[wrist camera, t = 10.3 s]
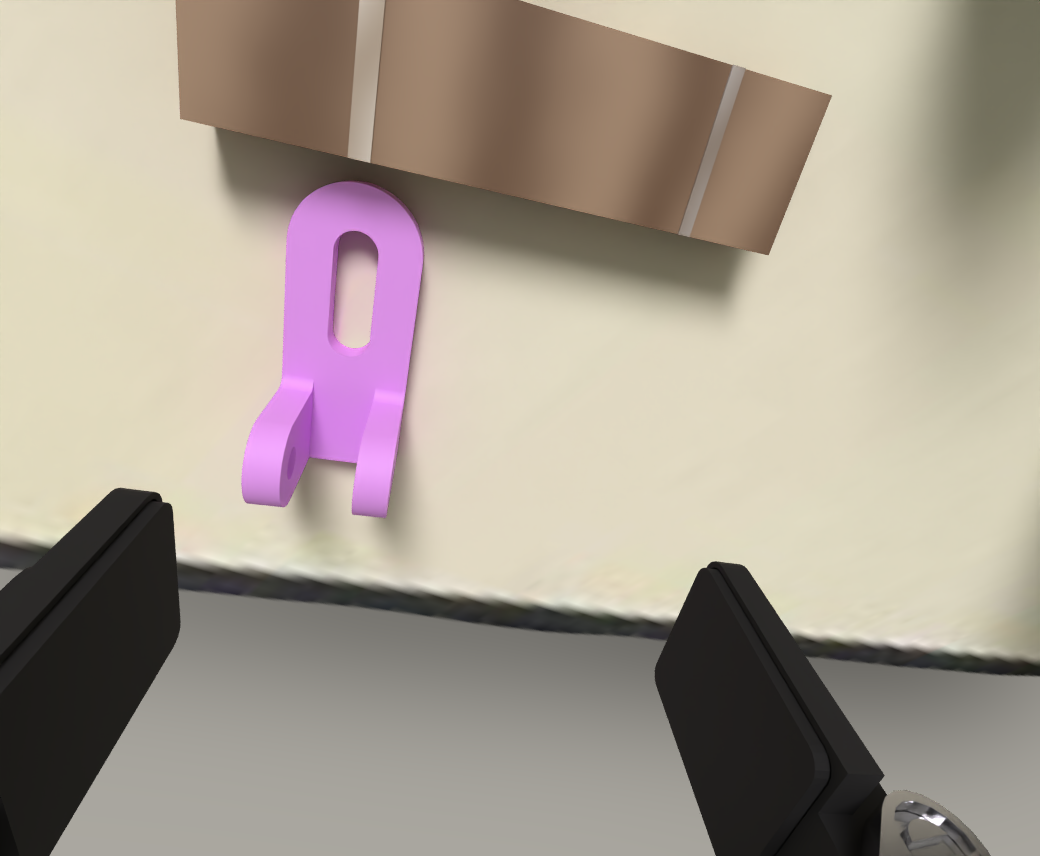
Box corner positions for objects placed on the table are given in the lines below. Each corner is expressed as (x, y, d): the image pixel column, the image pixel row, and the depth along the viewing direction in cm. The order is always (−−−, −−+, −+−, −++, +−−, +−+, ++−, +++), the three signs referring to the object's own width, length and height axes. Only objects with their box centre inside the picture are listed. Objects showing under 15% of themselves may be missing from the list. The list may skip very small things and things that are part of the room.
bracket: (397, 454, 29) (383, 535, 23) (287, 440, 28) (241, 521, 22) (432, 196, 24) (426, 212, 18) (297, 166, 23) (241, 172, 17)
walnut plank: (788, 101, 24) (833, 95, 21) (736, 244, 26) (769, 255, 23) (210, -70, 19) (169, -107, 16) (213, 122, 22) (179, 118, 19)
